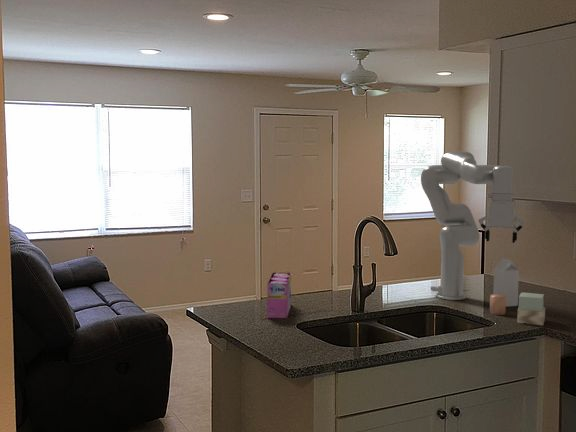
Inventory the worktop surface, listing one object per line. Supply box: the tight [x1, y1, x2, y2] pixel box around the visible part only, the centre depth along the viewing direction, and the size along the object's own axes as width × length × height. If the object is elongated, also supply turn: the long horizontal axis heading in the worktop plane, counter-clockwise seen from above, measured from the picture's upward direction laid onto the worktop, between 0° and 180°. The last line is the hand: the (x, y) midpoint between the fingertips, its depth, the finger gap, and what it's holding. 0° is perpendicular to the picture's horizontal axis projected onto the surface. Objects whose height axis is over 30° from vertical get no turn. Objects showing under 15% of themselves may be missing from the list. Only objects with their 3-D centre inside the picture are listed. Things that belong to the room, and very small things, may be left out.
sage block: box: [518, 292, 545, 312], centre depth 246 cm, size 8×8×5 cm
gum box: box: [266, 271, 292, 319], centre depth 261 cm, size 24×8×14 cm, turn 176°
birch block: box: [516, 306, 546, 326], centre depth 246 cm, size 9×9×5 cm
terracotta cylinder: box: [489, 293, 507, 316], centre depth 259 cm, size 6×6×7 cm
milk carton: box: [492, 258, 520, 308], centre depth 273 cm, size 7×7×19 cm
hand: (500, 241), depth 257 cm, fingers open, 9 cm apart
